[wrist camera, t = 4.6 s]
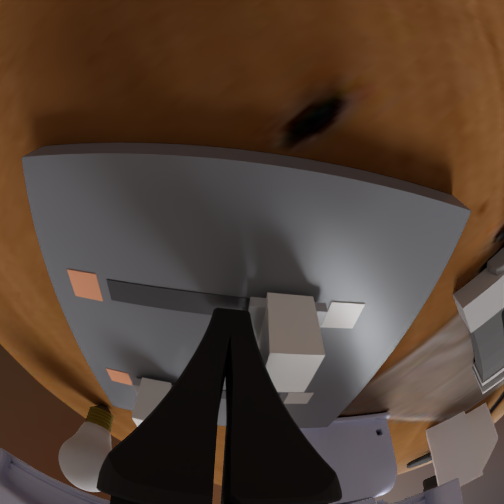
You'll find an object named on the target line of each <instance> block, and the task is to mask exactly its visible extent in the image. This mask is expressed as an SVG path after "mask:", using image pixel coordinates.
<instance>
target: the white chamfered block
mask: <svg viewBox="0 0 504 504" xmlns="http://www.w3.org/2000/svg"><path fill="white" fill-rule="evenodd" d="M426 437H427V440H428V444H429V448H430V452H431V456H432V461H433V465H434V469H435V474H436V479H437V484H438V486H440V485H442V484H444V483H447V482H449V481H451V480H453V479H455V478H459V483H460V486H462V485H464V484H466V483H468V482H470V481H472V480H474V479H476V478H478V477H479V476H482V475H483V472H482V470H483V468H484V466H485V464H486V462H487V461H488V459H489V457H490V455H491V453H492V450H493V448H494V446H495V444H496V442H497V439H498V435H497V432H496V429H495V426H494V423H493V420H492V417H491V415H490V412H489V409H488V407H487V404H486V403H484V404H482V405H481V406H479V407H477V408H476V409H474V410H472V411H470V412H469V413H467V414H465V411H463V412H461V413H459V414H457V415H455V416H454V417H452V418H450V419H448V420H446V421H444V422H442V423H440V424H438V425H435V426H433V427H431V428H429V429H427V430H426Z"/></svg>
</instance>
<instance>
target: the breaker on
mask: <svg viewBox="0 0 504 504" xmlns="http://www.w3.org/2000/svg"><path fill="white" fill-rule="evenodd" d="M132 386H133V388H134V390H135V393H136V395H137V398H136V402H135V406H134V410H133V414H132V419H133V420H134V422H135V424H136V425H137V427H138V426H139V425H140V424H141V423H142V422H143V421H144V420H145V418H146V417H147V416H148V415H149V414H150V413H151V412H152V411H153V410H154V409H155V408H156V406H157V405H158V404H159V403H160V402H161V400H162V399H163V398H164V397H165V396H166V394H167V393H168V392H169V391H170V389H171V388H172V386H173V385H171V383H170V382H164V381H159V380H153V379H148V378H143V377H142V379H137V378H134V379H133V382H132Z"/></svg>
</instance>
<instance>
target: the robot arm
mask: <svg viewBox="0 0 504 504" xmlns="http://www.w3.org/2000/svg"><path fill="white" fill-rule="evenodd" d="M225 380H226V435H225V449H224V464H223V478H222V493H221V504H376V502H375V498H373V497H377V496H381V495H384V494H386V493H387V492H389V491H390V490H391V489H392V487H393V486H394V484H395V481H396V476H397V465H396V459H395V454H394V449H393V445H392V440H391V436H390V431H389V427H388V423H387V418H389V417H390V413H389V412H386V413H379V414H371V415H363V416H353V417H341V418H336V419H335V420H334V421H333V422H332V423H331V424H330V425H329V426H328V427H321V428H299V427H298V426H297V424H296V423H295V421H294V420H293V418H292V417H291V415H290V413H289V412H288V410H287V409H286V407H285V405H284V403H283V402H282V400H281V398H280V396H279V394H278V392H277V390H276V388H275V386H274V384H273V382H272V380H271V378H270V376H269V373H268V371H267V369H266V366H265V364H264V361H263V359H262V356H261V353H260V350H259V348H258V345H257V341H256V338H255V335H254V331H253V327H252V322H251V315H250V313H249V312H248V311H244V310H235V309H226V308H215V309H214V310H213V314H212V317H211V320H210V323H209V325H208V327H207V330H206V332H205V334H204V336H203V338H202V340H201V342H200V344H199V346H198V347H197V349H196V351H195V353H194V355H193V356H192V358H191V360H190V361H189V363H188V364H187V366H186V368H185V369H184V371H183V372H182V374H181V375H180V377H179V378H178V380H177V381H176V382H175V384H174V385H173V386H172V388H171V389H170V391H169V392H168V393H167V394H166V396H165V397H164V398H163V399H162V400H161V402H160V403H159V404H158V405H157V406H156V408H155V409H154V410H153V411H152V412H151V413H150V414H149V415H148V416H147V417H146V418H145V420H144V421H143V422H142V423H141V424H140V425H139V426H138V427H137V428H136V429H135V430H134V431H133V432H132V433H131V434H129V435H128V436H127V437H126V438H125V439H124V440H123V441H121V442H120V443H119V444H118V445H117V446H116V447H114V448H113V449H112V450H111V451H110V452H109V453H108V455H107V456H106V458H105V460H104V462H103V464H102V466H101V469H100V471H99V476H98V481H97V487H96V488H97V489H98V490H99V491H101V492H104V493H107V494H109V495H111V500H110V501H108V500H105V499H102V498H99V497H96V496H94V495H91V494H88V493H86V492H83V491H81V490H78V489H76V488H74V487H71V486H69V485H66V484H64V483H62V482H60V481H58V480H56V479H54V478H51V477H49V476H47V475H45V474H43V473H42V472H40V471H38V470H36V469H34V468H32V467H31V466H30V465H28V464H26V463H25V462H23V461H21V460H19V459H18V458H16V457H15V456H13V455H11V454H10V453H8V452H7V451H5V450H3V449H1V448H0V504H212V496H213V480H214V464H215V450H216V436H217V423H218V414H219V408H220V403H221V397H222V392H223V386H224V381H225ZM369 498H372V499H369ZM366 499H368V500H366ZM362 500H364V501H362ZM358 501H359V502H358ZM377 504H388V503H387V502H384V501H383V500H379V501H377ZM392 504H463V499H462V493H461V488H460V483H459V478H455V479H453V480H451V481H449V482H447V483H444V484H442V485H440V486H438V487H435V488H432V489H430V490H427V491H425V492H422V493H419V494H417V495H414V496H411V497H408V498H406V499H405V500H402V501H398V502H395V503H392Z"/></svg>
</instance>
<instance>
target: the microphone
mask: <svg viewBox="0 0 504 504" xmlns="http://www.w3.org/2000/svg"><path fill="white" fill-rule="evenodd" d="M431 460H432V456H431V453H429V454H427V455H425V456H423V457H421V458H419V459H416V460H414V461H412V462H410V463H409V464H407V468H411V467H414V466H418V465H421V464H423V463H426V462H428V461H431ZM423 486H424V490H423V492H425V491H427V490H430V489H432V488H435V487H438V484H437V479H436V475H435V476H433V477H430V478H428V479H425V480H424V481H423Z"/></svg>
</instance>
